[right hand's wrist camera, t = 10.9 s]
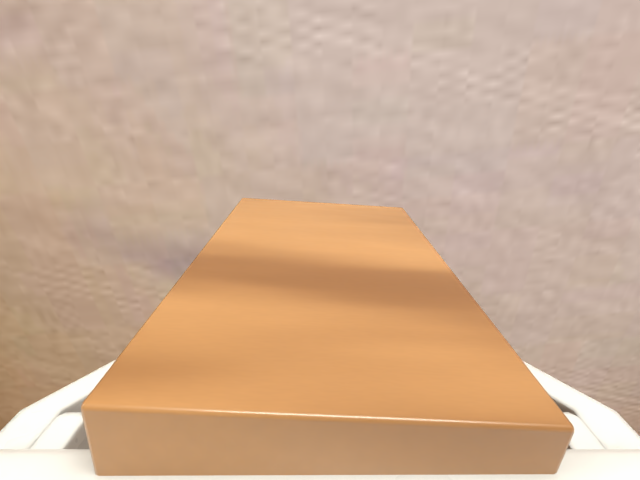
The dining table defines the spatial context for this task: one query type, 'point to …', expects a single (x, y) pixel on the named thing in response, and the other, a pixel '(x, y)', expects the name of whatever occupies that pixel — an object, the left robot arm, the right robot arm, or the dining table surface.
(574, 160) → the dining table surface
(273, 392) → the box
